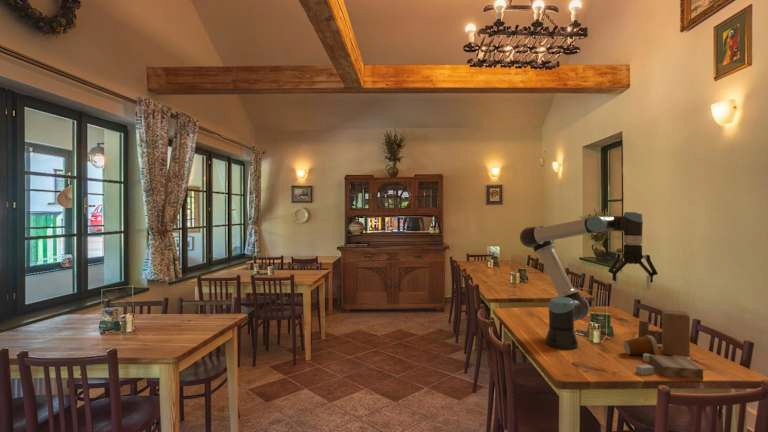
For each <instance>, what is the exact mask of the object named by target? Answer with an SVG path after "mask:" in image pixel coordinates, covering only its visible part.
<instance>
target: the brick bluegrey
mask: <svg viewBox="0 0 768 432" xmlns="http://www.w3.org/2000/svg"><path fill="white" fill-rule="evenodd" d="M635 373H637V374H638V375H640V376H647V375H655V368H654V367H653V366H652V365H650V364H640V365H639V364H638V365H635Z"/></svg>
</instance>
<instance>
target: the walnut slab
mask: <svg viewBox="0 0 768 432" xmlns="http://www.w3.org/2000/svg"><path fill="white" fill-rule="evenodd" d="M649 365H650V366H653V367H654V370H656V371H657V372H658V373H659V374H660V375H661V376H663V377H669V378H679V377H680V378H681V379H694V380H704V369H703V368H701V367H700V366H699V365H697V364H696V363H695V362H693V361H692V360H691V359H690V360H689V359H687V358H686V357H673V356H669V355H660V354H659V355H658V354H657V355H650V362H649Z"/></svg>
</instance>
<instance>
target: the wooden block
mask: <svg viewBox="0 0 768 432" xmlns="http://www.w3.org/2000/svg"><path fill="white" fill-rule="evenodd" d="M690 318H691V317H690V315H689V313H688V312H687V311H685V310H675V309H665V308H664V309H662V311H661V331H662V344H661V348H662V354H663V355H664V356H673V354H674V355H679V356H684V357H690V356H691V355H690V354H691V351H690V350H691V349H690V347H691V346H690V344H691V341H690V338H691V336H690V335H691V331H690V330H691V329H690V328H691V325H690V324H691V323H690V321H691V319H690ZM690 358H691V357H690Z"/></svg>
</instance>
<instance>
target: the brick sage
mask: <svg viewBox="0 0 768 432" xmlns="http://www.w3.org/2000/svg"><path fill="white" fill-rule="evenodd" d="M650 355H651V354H647V353H645V354H643V355H642V360H643V362H647V363H650Z"/></svg>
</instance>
